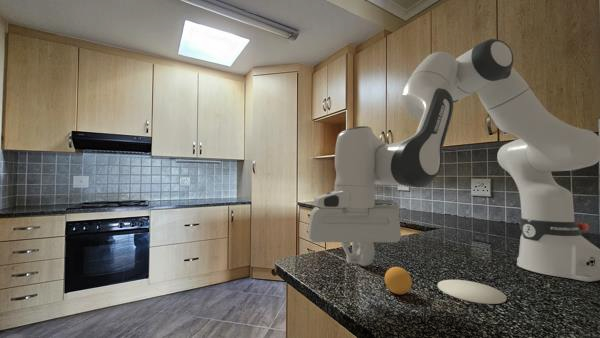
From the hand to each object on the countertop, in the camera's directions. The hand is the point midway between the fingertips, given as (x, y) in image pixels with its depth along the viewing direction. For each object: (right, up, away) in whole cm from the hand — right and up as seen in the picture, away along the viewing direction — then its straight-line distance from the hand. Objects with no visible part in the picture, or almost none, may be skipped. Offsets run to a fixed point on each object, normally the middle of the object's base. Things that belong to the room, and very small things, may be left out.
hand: (353, 262), depth 56 cm
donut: (+7, -9, +20) cm, 23 cm away
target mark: (+27, -7, +2) cm, 28 cm away
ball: (+10, -4, +1) cm, 11 cm away
